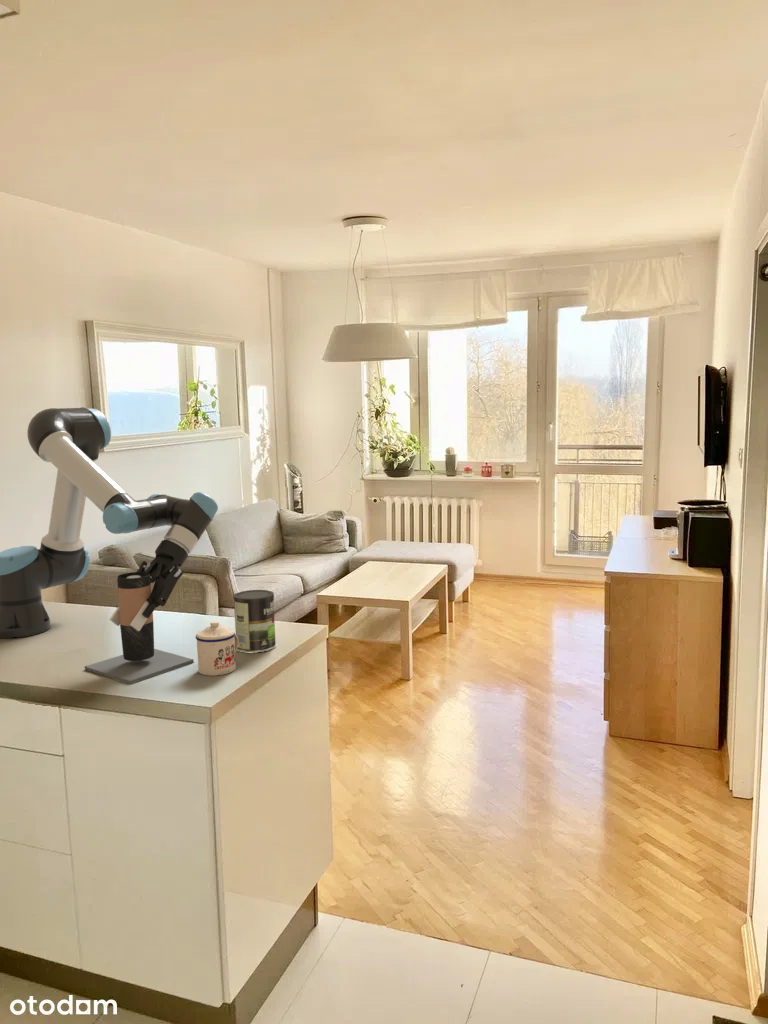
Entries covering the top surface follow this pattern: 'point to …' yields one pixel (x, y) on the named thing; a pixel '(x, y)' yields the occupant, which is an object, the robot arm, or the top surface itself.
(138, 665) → the pad
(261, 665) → the top surface
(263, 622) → the coffee can
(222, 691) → the top surface
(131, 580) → the travel mug
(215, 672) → the teacup with lid
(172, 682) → the top surface
